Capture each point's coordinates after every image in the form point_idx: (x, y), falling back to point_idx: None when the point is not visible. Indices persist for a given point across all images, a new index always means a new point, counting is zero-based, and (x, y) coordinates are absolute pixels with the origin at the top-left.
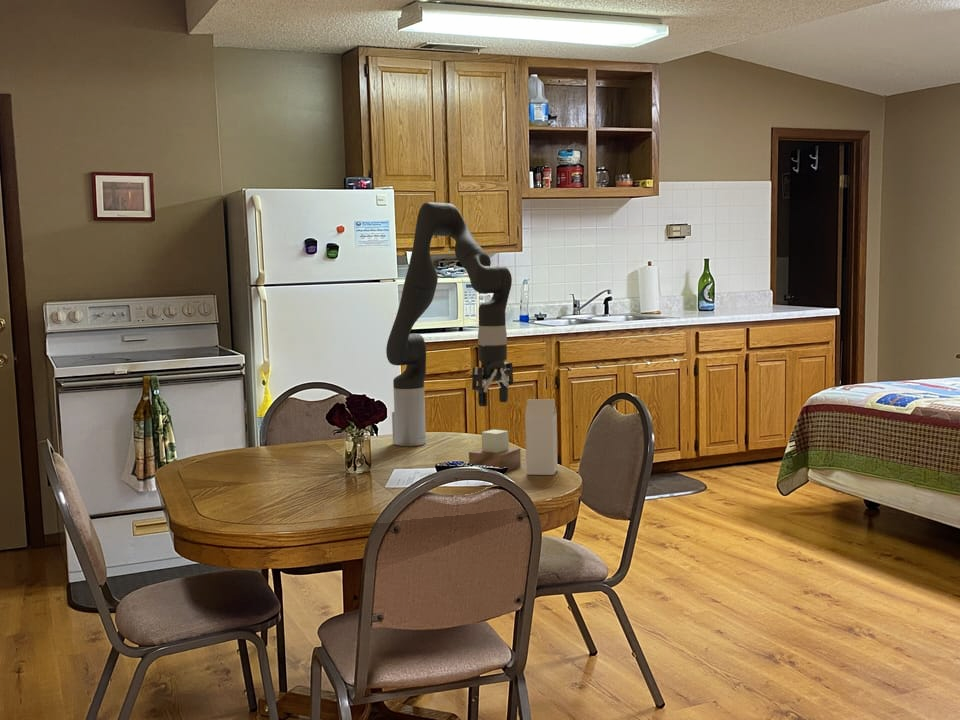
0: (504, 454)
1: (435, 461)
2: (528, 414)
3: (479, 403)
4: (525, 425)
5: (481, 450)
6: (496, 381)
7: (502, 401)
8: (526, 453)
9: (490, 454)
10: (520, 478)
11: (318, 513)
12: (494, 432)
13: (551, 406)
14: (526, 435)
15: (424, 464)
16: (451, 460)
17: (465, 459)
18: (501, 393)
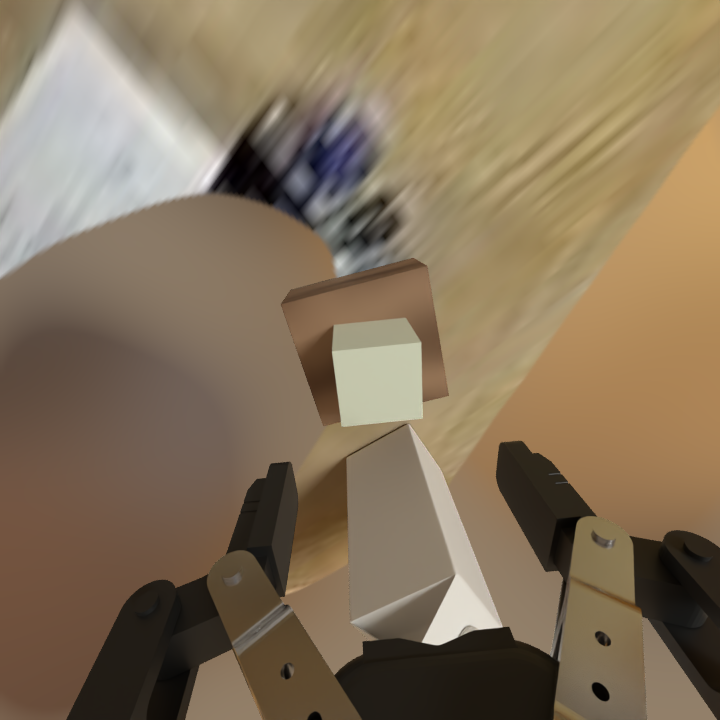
0: (337, 422)
1: (304, 48)
2: (365, 635)
3: (254, 488)
4: (349, 584)
5: (338, 316)
6: (570, 580)
7: (499, 461)
8: (347, 500)
9: (310, 387)
10: (308, 467)
11: None
12: (362, 398)
13: None
14: (349, 551)
15: (230, 57)
16: (362, 99)
17: (411, 137)
18: (527, 499)
